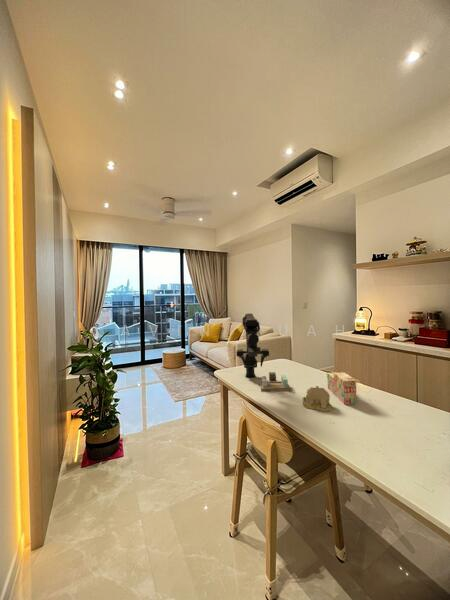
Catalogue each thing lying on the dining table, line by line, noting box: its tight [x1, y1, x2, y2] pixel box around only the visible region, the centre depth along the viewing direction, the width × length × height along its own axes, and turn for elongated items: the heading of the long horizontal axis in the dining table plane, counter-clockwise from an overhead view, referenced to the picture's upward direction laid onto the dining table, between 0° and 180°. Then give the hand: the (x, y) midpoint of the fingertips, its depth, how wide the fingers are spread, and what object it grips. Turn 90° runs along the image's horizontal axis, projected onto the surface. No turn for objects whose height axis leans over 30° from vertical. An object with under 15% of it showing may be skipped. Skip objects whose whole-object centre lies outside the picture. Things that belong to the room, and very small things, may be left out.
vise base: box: [259, 375, 292, 392], centre depth 150 cm, size 12×17×6 cm
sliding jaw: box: [280, 374, 289, 387], centre depth 150 cm, size 8×2×4 cm, turn 176°
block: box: [268, 371, 277, 381], centre depth 161 cm, size 4×4×5 cm
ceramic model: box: [302, 385, 334, 412], centre depth 124 cm, size 14×11×10 cm
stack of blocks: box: [326, 372, 357, 405], centre depth 135 cm, size 21×6×12 cm, turn 179°
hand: (253, 367), depth 146 cm, fingers open, 9 cm apart
